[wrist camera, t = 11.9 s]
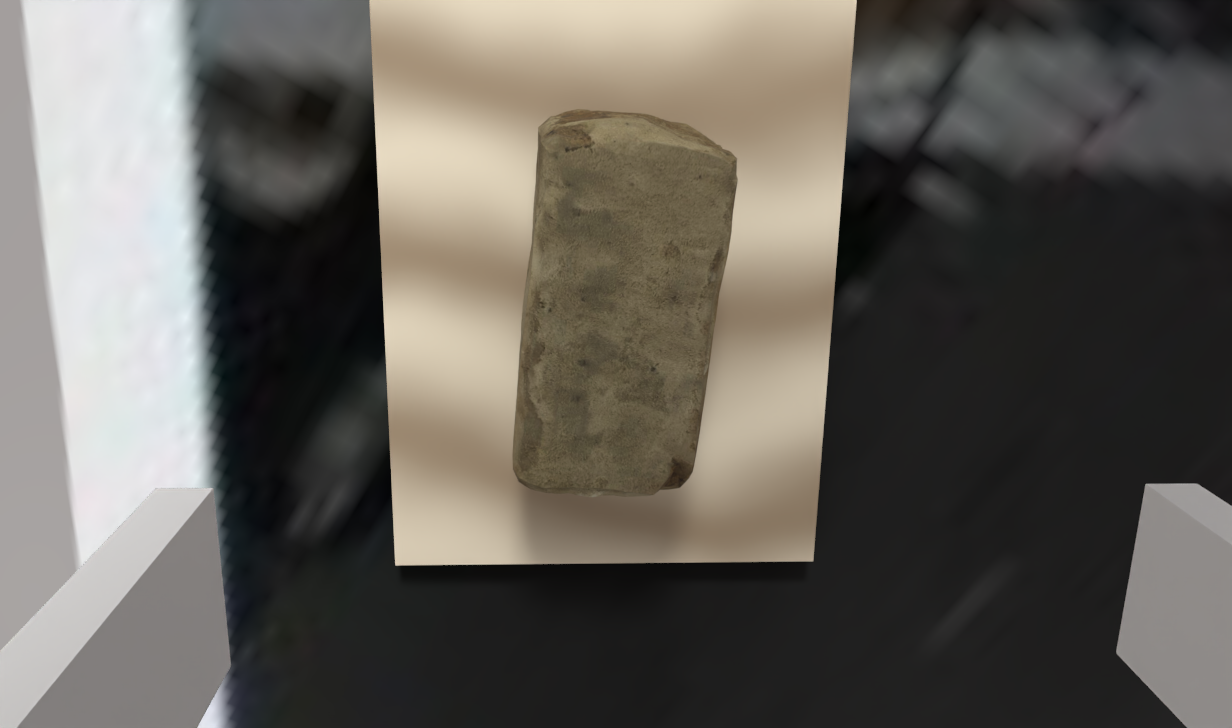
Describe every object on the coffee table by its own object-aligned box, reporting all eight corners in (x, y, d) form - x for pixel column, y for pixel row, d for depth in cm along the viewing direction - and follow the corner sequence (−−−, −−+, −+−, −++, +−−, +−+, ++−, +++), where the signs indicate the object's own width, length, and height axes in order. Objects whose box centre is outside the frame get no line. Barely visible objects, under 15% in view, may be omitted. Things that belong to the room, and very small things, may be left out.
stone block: (512, 444, 35) (505, 501, 30) (538, 101, 32) (536, 105, 27) (679, 456, 36) (698, 515, 31) (720, 119, 33) (748, 126, 28)
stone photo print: (373, -35, 32) (367, -39, 31) (849, -24, 33) (858, -27, 32) (399, 552, 37) (395, 565, 36) (806, 549, 38) (813, 561, 37)
